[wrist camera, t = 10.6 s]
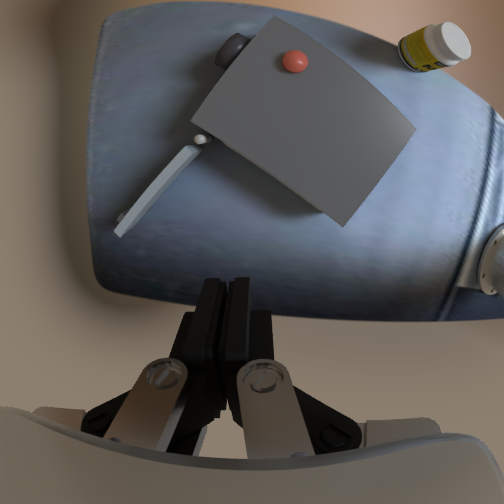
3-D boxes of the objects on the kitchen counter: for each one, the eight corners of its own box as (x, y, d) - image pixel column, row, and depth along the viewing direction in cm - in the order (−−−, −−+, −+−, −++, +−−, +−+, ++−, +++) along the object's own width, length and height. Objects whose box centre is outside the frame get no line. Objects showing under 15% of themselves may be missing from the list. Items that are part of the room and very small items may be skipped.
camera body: (392, 128, 24) (420, 129, 19) (321, 221, 28) (335, 240, 23) (256, 26, 20) (256, 3, 15) (179, 125, 24) (162, 124, 19)
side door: (138, 221, 28) (119, 237, 24) (128, 212, 28) (108, 226, 24) (203, 150, 25) (192, 153, 21) (192, 139, 25) (179, 140, 21)
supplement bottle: (409, 77, 21) (454, 66, 14) (389, 41, 20) (428, 19, 12) (435, 68, 20) (480, 59, 13) (416, 34, 19) (457, 16, 11)
